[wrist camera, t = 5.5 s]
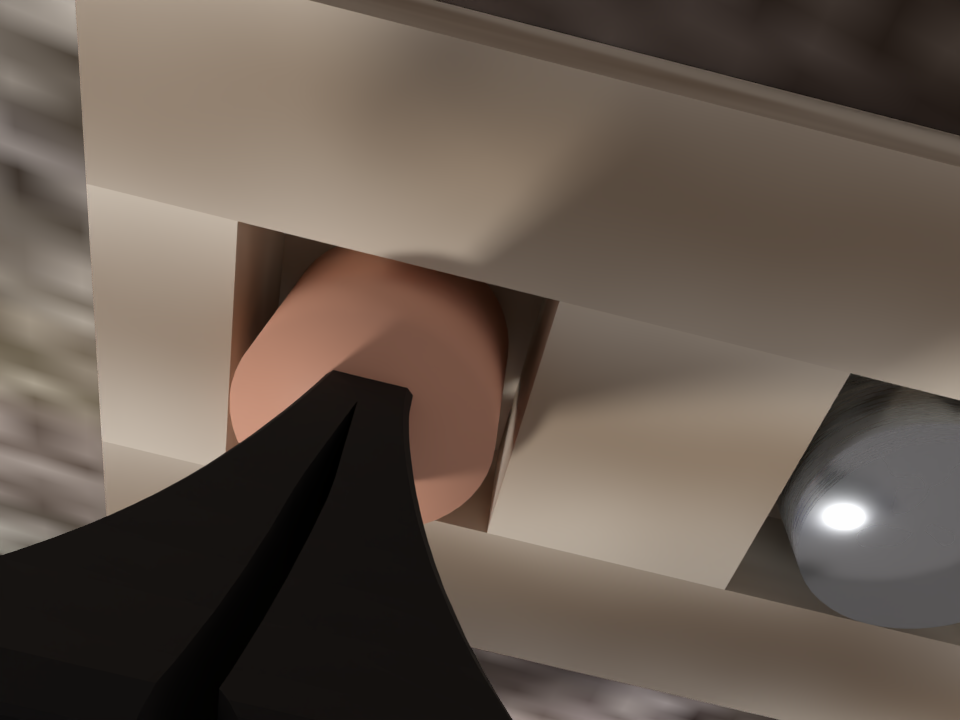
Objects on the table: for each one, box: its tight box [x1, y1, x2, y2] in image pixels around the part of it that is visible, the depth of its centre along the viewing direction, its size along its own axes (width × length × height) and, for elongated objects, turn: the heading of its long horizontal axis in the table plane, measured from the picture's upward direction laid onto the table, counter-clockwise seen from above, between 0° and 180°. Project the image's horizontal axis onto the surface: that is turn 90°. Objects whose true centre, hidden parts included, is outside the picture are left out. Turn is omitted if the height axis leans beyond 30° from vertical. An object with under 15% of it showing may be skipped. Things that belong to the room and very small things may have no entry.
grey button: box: [776, 373, 960, 629], centre depth 14 cm, size 4×4×3 cm
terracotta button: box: [230, 246, 509, 524], centre depth 14 cm, size 4×4×3 cm
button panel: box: [75, 0, 960, 720], centre depth 15 cm, size 12×20×3 cm, turn 77°
